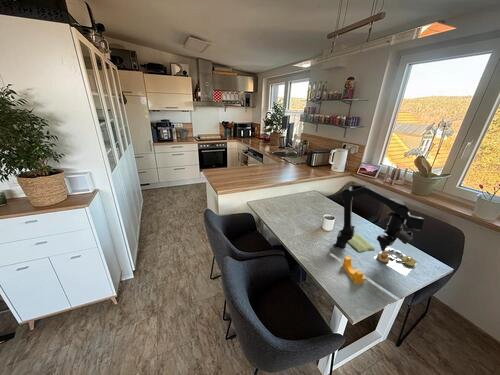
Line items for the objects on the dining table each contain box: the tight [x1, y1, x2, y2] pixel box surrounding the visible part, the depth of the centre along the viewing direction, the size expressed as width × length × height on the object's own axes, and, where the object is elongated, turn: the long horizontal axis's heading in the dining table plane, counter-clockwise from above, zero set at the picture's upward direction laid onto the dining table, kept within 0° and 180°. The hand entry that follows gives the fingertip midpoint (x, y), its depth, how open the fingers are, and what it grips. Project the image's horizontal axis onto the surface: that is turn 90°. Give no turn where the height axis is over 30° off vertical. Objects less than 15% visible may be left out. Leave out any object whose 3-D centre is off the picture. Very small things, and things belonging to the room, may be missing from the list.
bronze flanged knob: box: [376, 250, 390, 264], centre depth 113 cm, size 6×6×6 cm
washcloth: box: [347, 233, 376, 253], centre depth 127 cm, size 13×18×3 cm
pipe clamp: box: [342, 256, 366, 285], centre depth 104 cm, size 12×4×6 cm, turn 6°
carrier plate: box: [373, 246, 420, 277], centre depth 113 cm, size 18×16×5 cm
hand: (386, 247), depth 111 cm, fingers open, 9 cm apart
